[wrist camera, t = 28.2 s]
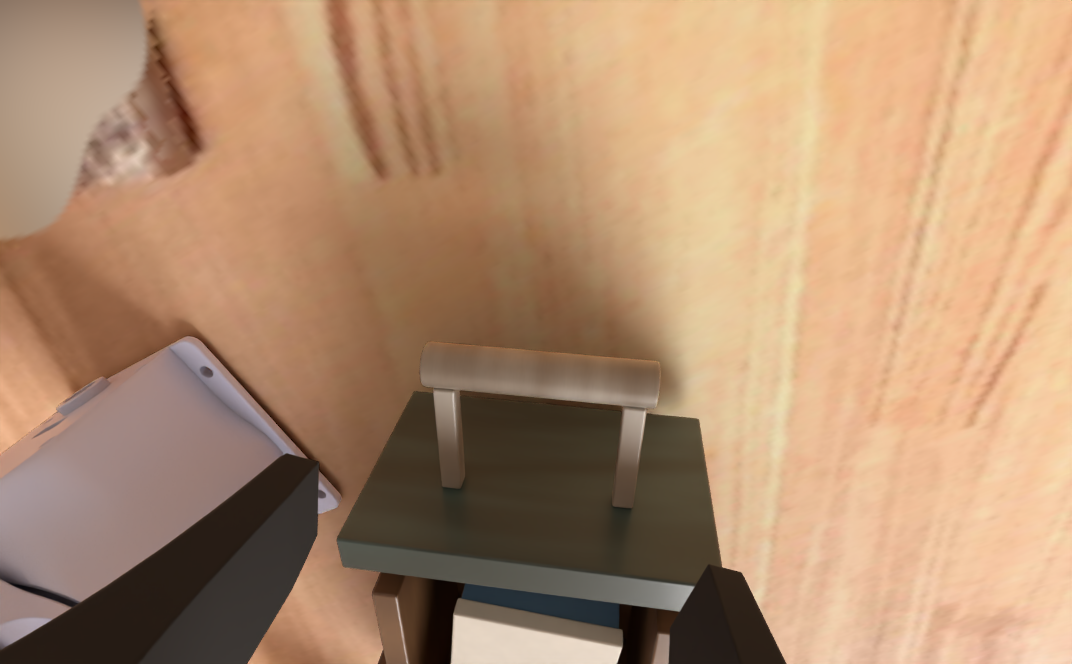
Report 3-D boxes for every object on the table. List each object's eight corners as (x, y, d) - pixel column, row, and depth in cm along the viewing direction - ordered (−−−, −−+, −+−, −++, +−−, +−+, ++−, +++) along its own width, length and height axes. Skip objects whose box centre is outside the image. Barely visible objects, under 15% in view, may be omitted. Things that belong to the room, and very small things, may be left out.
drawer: (399, 270, 19) (300, 395, 13) (724, 294, 18) (769, 442, 12) (437, 600, 28) (388, 760, 22) (655, 630, 27) (663, 807, 21)
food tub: (486, 492, 22) (453, 614, 18) (624, 517, 22) (623, 647, 17) (480, 563, 24) (448, 687, 20) (605, 586, 24) (599, 717, 20)
